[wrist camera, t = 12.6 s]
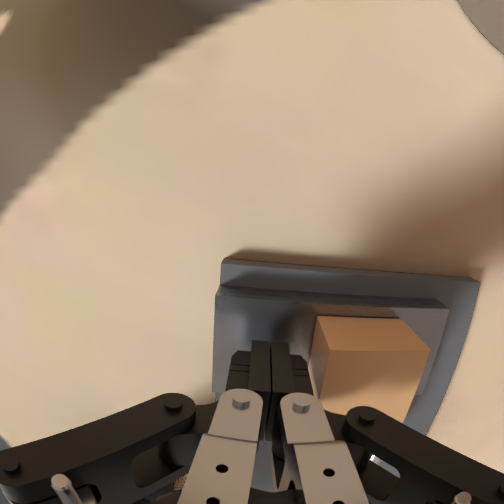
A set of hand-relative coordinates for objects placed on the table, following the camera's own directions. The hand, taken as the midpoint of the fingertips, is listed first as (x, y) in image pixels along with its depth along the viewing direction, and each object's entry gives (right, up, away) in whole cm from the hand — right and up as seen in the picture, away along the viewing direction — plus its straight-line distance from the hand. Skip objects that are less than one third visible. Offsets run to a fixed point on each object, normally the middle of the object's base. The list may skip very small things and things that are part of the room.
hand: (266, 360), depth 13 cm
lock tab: (+4, 0, +1) cm, 4 cm away
